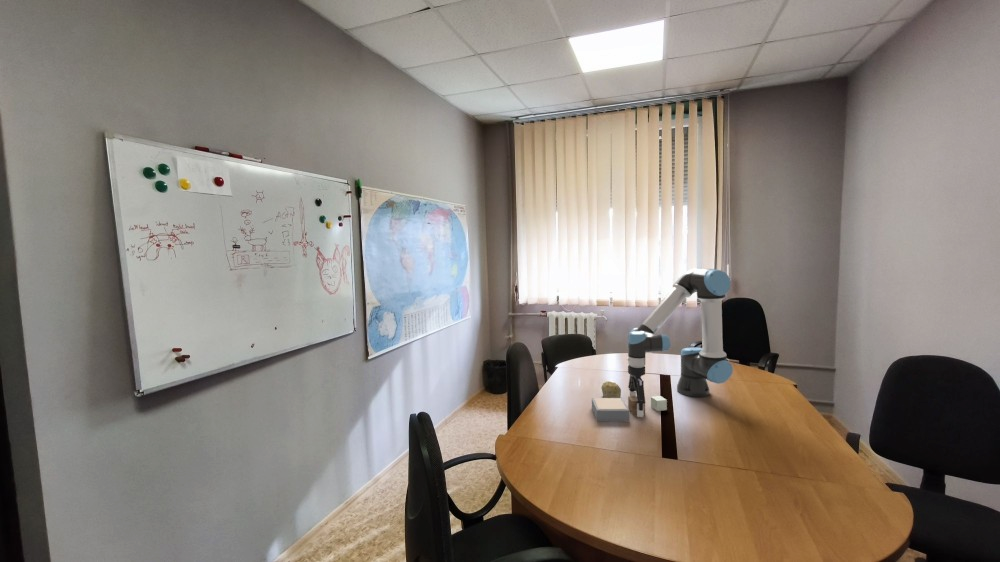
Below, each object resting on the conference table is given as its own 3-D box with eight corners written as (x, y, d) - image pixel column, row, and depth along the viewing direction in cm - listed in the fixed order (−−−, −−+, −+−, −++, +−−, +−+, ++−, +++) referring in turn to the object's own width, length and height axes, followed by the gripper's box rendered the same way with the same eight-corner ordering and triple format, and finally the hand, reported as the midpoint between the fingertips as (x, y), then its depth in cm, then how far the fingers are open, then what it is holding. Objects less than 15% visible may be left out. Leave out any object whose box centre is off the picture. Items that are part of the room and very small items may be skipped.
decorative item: (620, 403, 199) (617, 384, 204) (624, 398, 191) (621, 378, 196) (601, 403, 200) (599, 384, 205) (604, 398, 191) (601, 378, 197)
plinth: (621, 408, 184) (621, 397, 183) (629, 421, 170) (629, 409, 169) (591, 408, 185) (591, 397, 184) (596, 421, 171) (596, 409, 171)
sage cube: (660, 405, 185) (660, 395, 185) (666, 410, 180) (666, 399, 180) (650, 407, 184) (650, 396, 184) (656, 411, 180) (657, 400, 179)
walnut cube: (641, 408, 183) (641, 396, 183) (645, 413, 177) (645, 401, 177) (628, 408, 184) (628, 396, 183) (631, 413, 178) (631, 401, 177)
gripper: (622, 357, 191) (621, 400, 193) (635, 374, 167) (635, 422, 168) (637, 357, 190) (637, 400, 192) (653, 374, 166) (652, 422, 168)
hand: (636, 410), depth 180 cm, fingers open, 12 cm apart
